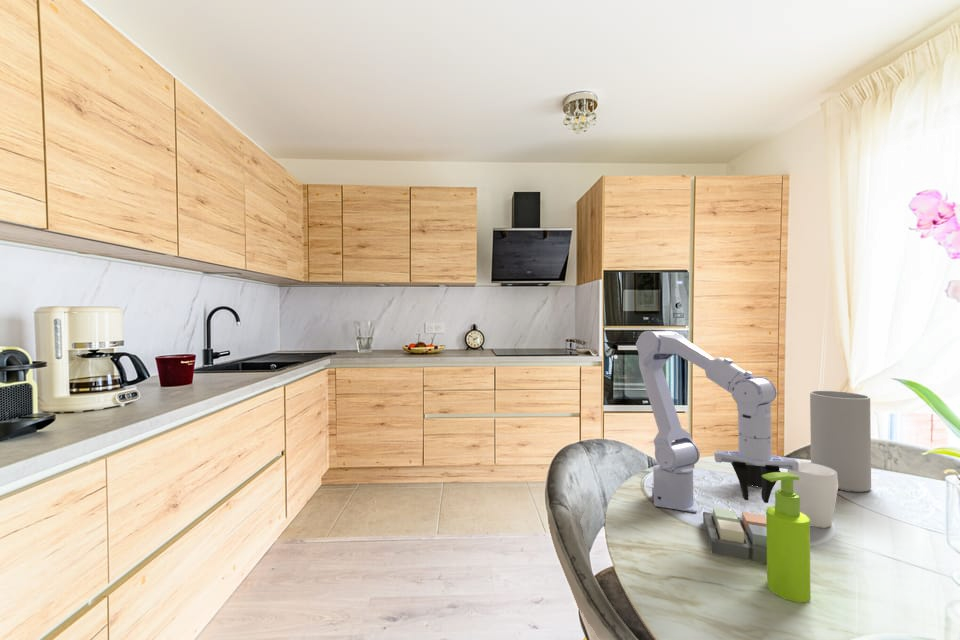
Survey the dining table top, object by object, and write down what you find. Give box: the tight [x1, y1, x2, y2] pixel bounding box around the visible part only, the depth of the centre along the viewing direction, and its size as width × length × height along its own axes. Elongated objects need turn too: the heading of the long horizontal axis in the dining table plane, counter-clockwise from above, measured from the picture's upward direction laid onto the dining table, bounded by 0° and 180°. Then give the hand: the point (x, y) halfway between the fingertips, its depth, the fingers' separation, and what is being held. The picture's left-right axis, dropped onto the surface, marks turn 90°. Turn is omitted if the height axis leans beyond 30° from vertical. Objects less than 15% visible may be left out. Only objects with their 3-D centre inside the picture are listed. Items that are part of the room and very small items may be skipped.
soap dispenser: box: [762, 471, 812, 603], centre depth 68 cm, size 6×7×20 cm
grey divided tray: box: [702, 511, 767, 565], centre depth 82 cm, size 13×13×2 cm
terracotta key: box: [741, 511, 767, 531], centre depth 84 cm, size 4×4×2 cm
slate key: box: [748, 524, 767, 547], centre depth 79 cm, size 4×4×2 cm
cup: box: [787, 461, 838, 528], centre depth 91 cm, size 9×9×12 cm
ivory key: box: [717, 519, 744, 543], centre depth 81 cm, size 4×4×2 cm
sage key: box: [712, 507, 738, 526], centre depth 86 cm, size 4×4×2 cm
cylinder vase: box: [809, 390, 872, 493], centre depth 111 cm, size 12×12×25 cm
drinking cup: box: [746, 464, 762, 487], centre depth 112 cm, size 8×8×20 cm
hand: (755, 499), depth 84 cm, fingers open, 3 cm apart
